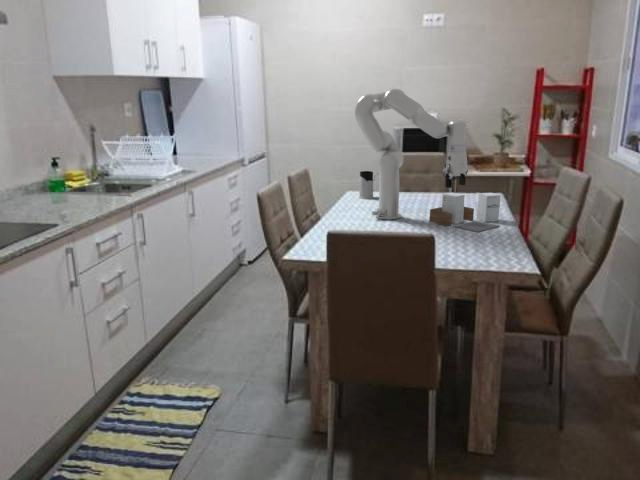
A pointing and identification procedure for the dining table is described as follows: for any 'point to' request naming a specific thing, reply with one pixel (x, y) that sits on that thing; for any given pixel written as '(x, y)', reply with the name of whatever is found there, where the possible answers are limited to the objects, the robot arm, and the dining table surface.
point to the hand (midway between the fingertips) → (455, 186)
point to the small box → (454, 206)
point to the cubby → (448, 216)
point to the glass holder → (366, 184)
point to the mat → (477, 226)
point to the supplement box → (488, 207)
